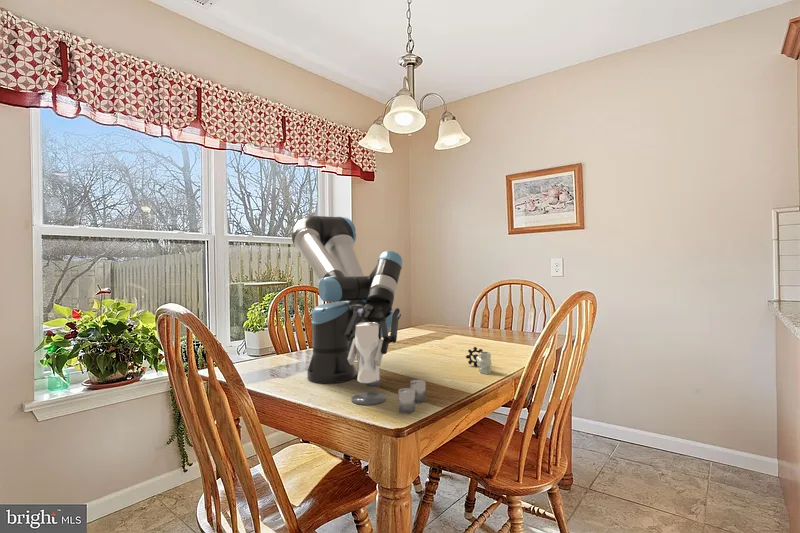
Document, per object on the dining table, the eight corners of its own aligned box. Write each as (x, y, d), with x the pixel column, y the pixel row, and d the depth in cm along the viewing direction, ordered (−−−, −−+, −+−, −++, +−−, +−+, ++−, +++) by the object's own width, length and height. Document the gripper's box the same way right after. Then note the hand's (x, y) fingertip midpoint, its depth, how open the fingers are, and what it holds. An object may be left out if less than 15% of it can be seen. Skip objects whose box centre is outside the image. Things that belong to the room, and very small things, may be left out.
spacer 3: (408, 402, 114) (408, 383, 113) (412, 398, 117) (412, 379, 117) (423, 403, 112) (423, 384, 112) (427, 399, 116) (426, 380, 116)
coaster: (346, 403, 113) (346, 401, 113) (358, 393, 122) (358, 391, 122) (379, 406, 111) (379, 403, 111) (389, 395, 120) (389, 393, 120)
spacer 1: (364, 386, 128) (364, 369, 128) (369, 383, 132) (369, 366, 132) (377, 387, 127) (377, 370, 127) (381, 383, 131) (381, 367, 131)
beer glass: (371, 385, 111) (370, 326, 111) (349, 381, 115) (349, 324, 115) (386, 379, 117) (386, 322, 117) (365, 375, 121) (365, 321, 121)
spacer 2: (396, 413, 106) (396, 392, 106) (400, 407, 110) (400, 387, 110) (412, 414, 105) (412, 393, 105) (416, 408, 109) (416, 388, 109)
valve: (496, 374, 141) (484, 365, 153) (496, 353, 141) (484, 346, 153) (477, 375, 140) (465, 366, 152) (476, 354, 140) (465, 347, 152)
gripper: (416, 302, 128) (403, 372, 113) (353, 302, 133) (332, 368, 118) (412, 285, 123) (397, 356, 108) (346, 285, 128) (323, 353, 113)
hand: (363, 362), depth 113 cm, fingers closed on beer glass, 7 cm apart
